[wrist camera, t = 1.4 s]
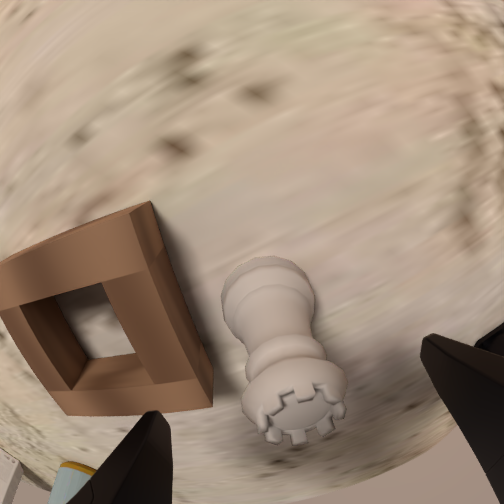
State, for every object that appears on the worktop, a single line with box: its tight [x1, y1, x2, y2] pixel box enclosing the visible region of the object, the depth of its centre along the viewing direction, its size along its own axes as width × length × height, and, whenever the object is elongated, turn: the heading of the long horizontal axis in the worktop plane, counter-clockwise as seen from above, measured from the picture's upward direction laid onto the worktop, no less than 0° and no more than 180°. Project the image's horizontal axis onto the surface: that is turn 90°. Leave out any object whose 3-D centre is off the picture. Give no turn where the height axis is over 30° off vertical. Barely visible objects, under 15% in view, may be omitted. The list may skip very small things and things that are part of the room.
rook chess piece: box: [221, 256, 348, 446], centre depth 10 cm, size 4×4×8 cm
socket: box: [0, 201, 213, 416], centre depth 12 cm, size 10×10×3 cm
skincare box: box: [0, 448, 24, 504], centre depth 15 cm, size 6×4×12 cm
